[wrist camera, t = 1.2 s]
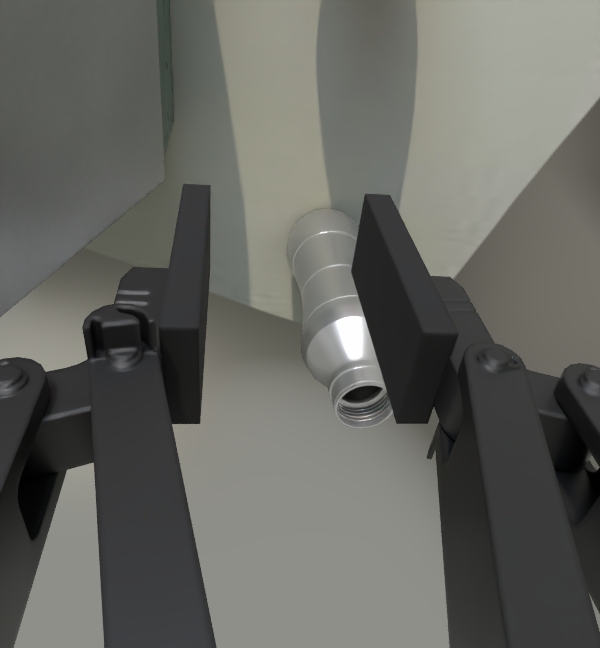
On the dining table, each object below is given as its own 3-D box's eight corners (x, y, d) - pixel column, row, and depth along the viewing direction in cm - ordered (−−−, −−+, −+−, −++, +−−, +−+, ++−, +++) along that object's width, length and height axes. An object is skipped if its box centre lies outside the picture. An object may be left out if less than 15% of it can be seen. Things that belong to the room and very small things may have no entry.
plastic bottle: (286, 271, 49) (310, 451, 34) (282, 201, 45) (307, 368, 30) (358, 266, 50) (415, 441, 34) (361, 195, 46) (427, 357, 30)
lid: (-40, 330, 21) (-21, 335, 20) (-170, -46, 14) (-142, -41, 13) (152, 177, 33) (165, 180, 32) (137, -64, 26) (153, -61, 25)
